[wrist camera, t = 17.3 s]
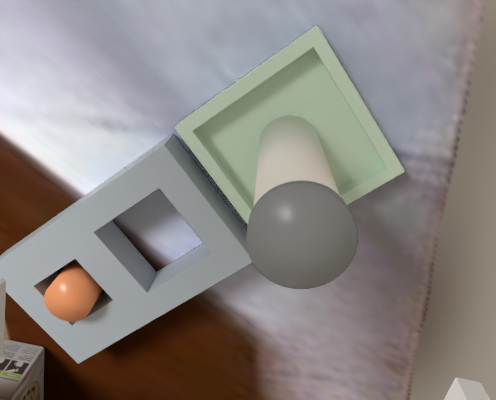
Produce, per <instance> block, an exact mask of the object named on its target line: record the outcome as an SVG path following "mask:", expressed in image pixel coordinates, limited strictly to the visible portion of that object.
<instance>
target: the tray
mask: <svg viewBox="0 0 496 400" xmlns="http://www.w3.org/2000/svg"><path fill="white" fill-rule="evenodd" d="M287 115H293V116H298V117H301V118H303V119H305V120H306V121H308V122H309V123H310V124H311V125H312V126H313V127H314V129H315V130H316V132H317V135H318V138H319V140H320V143H321V146H322V148H323V151H324V154H325V156H326V159H327V162H328V164H329V167H330V170H331V172H332V175H333V178H334V181H335V183H336V186H337V189H338V191H339V194H340V196H341V197H342V198H343V199H344V201H345V202H346V204H347V205H348V204H350V203H352V202H354V201H355V200H357V199H359V198H360V197H362V196H364V195H366V194H367V193H369V192H371V191H372V190H374V189H376V188H378V187H379V186H381V185H383V184H384V183H386V182H388V181H390V180H391V179H393V178H395V177H396V176H398V175H400V174H402V173H403V172H405V170H404V168H403V167H402V165H401V163H400V162H399V160H398V158H397V157H396V155H395V153H394V152H393V150H392V148H391V147H390V145H389V143H388V142H387V140H386V138H385V137H384V135H383V133H382V132H381V130H380V128H379V127H378V125H377V123H376V122H375V120H374V118H373V117H372V115H371V114H370V112H369V110H368V109H367V107H366V105H365V104H364V102H363V100H362V99H361V97H360V95H359V94H358V92H357V90H356V89H355V87H354V85H353V84H352V82H351V80H350V79H349V77H348V75H347V74H346V72H345V70H344V69H343V67H342V65H341V64H340V62H339V60H338V59H337V57H336V55H335V54H334V52H333V50H332V49H331V47H330V45H329V44H328V42H327V40H326V39H325V37H324V35H323V34H322V32H321V30H320V29H319V27H318V26H316V25H315V26H314V27H312V28H311V29H310V30H308V31H307V32H305V33H304V34H303V35H301V36H300V37H298V38H297V39H295V40H294V41H293V42H291V43H290V44H288V45H287V46H286V47H284V48H283V49H281V50H280V51H279V52H277V53H276V54H274V55H273V56H271V57H270V58H269V59H267V60H266V61H264V62H263V63H262V64H260V65H259V66H257V67H256V68H254V69H253V70H252V71H250V72H249V73H247V74H246V75H245V76H243V77H242V78H240V79H239V80H238V81H236V82H235V83H233V84H232V85H230V86H229V87H228V88H226V89H225V90H223V91H222V92H221V93H219V94H218V95H216V96H215V97H213V98H212V99H211V100H209V101H208V102H206V103H205V104H204V105H202V106H201V107H199V108H198V109H197V110H195V111H194V112H192V113H191V114H189V115H188V116H187V117H185V118H184V119H182V120H181V121H180V122H179V123H178V124H177V125H176V126H175V127H174V128H175V129H176V131H177V132H178V133H179V135H180V136H181V137H182V139H183V140H184V141H185V143H186V144H187V145H188V147H189V148H190V149H191V151H192V152H193V153H194V155H195V156H196V157H197V158H198V160H199V161H200V162H201V164H202V165H203V166H204V168H205V169H206V170H207V172H208V173H209V174H210V176H211V177H212V178H213V180H214V181H215V182H216V184H217V185H218V186H219V188H220V189H221V190H222V192H223V193H224V194H225V196H226V197H227V198H228V200H229V201H230V202H231V204H232V205H233V206H234V208H235V209H236V210H237V212H238V213H239V214H240V216H241V217H242V218H243V219H244V221H245V222H246V223H247V225H248V220H249V216H250V213H251V211H252V209H253V206H254V195H255V184H256V173H257V163H258V152H259V141H260V137H261V134H262V132H263V130H264V128H265V127H266V126H267V125H268V124H269V123H270V122H271V121H273V120H274V119H276V118H278V117H281V116H287Z"/></svg>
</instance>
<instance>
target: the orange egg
mask: <svg viewBox="0 0 496 400" xmlns="http://www.w3.org/2000/svg"><path fill="white" fill-rule="evenodd" d="M102 290H103V288H102V287H101V286H100V285H99V284H98V283H97V282H96V281H95V280H94V279H93V278H92V276H91V275H90V274H89V273H88V272H87V271H86V270H85V269H84V268H83V267H82V266H81V264H80V263H79V262H78V261H77V260H73V261H71V262H69V263H68V264H67V265H66V266H65V267H64V269H63V270H62V271H61V272H60V274H59V275H58V276H57V277H56V279H55V280H54V281H53V282H52V284H51V285H50V286H49V287H48V289H47V290H46V292H45V295H44V302H45V305H46V307H47V309H48V310H49V311H50V313H51V314H53V315H54V316H55V317H57V318H59V319H61V320H64V321H69V322H74V321H79V320H82V319H84V318H85V317H86V316H87V315H88V314H89V312H90V310H91V309H92V307H93V305H94V304H95V302H96V300H97V299H98V297H99V295H100V294H101V292H102Z"/></svg>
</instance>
